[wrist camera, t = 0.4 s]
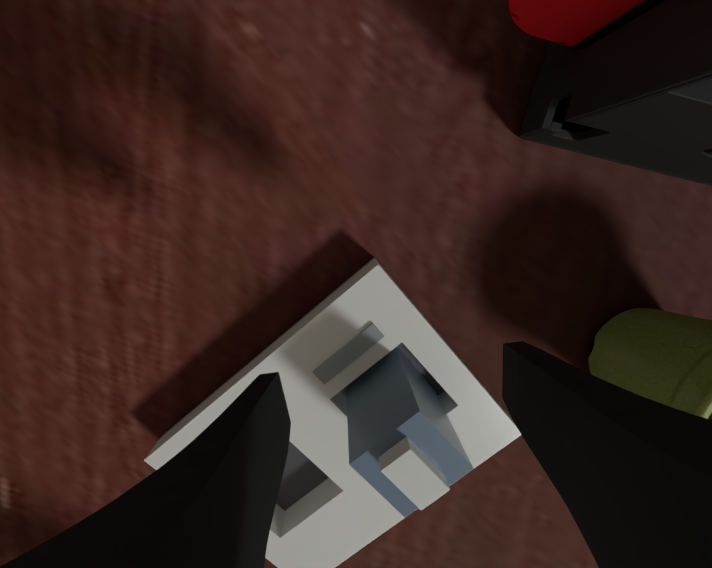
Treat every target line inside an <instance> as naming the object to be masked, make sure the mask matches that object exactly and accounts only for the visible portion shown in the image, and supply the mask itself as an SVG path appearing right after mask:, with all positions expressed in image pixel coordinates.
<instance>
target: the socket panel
mask: <svg viewBox="0 0 712 568" xmlns="http://www.w3.org/2000/svg"><path fill="white" fill-rule="evenodd" d="M395 347H398V348H399V349H400V350H401V351H402V353H403V354H404V355H405V356H406V357H407V358H408V359H409V360H410V361H411V363H412V364H413V365H414V366H415V367H416V368H417V369H418V370H419V372H420V373H421V374H422V375H423V376H424V377H425V378H426V379H427V380H428V382H429V383H430V384H431V385H432V386H433V387H434V389H435V391H436V394H437V396H438V398H439V400H440V402H441V404H442V406H443V408H444V410H445V412H446V414H447V416H448V418H449V420H450V422H451V424H452V426H453V428H454V430H455V432H456V434H457V436H458V438H459V440H460V442H461V444H462V446H463V448H464V450H465V452H466V454H467V456H468V458H469V460H470V462H471V464H472V466H473V468H475V467H477V466H478V465H480V464H481V463H483V462H484V461H485V460H487V459H488V458H490V457H491V456H492V455H494V454H495V453H497V452H498V451H499V450H501V449H502V448H504V447H505V446H506V445H508V444H509V443H511V442H512V441H513V440H515V439H516V438H518V437H519V436H520V435H521V433H520V432H519V430H518V428H517V427H516V425H515V424H514V422H513V421H512V420H511V418H510V417H509V416H508V414H507V413H506V412H505V411H504V409H503V408H502V407H501V406H500V405H499V404H498V402H497V401H496V400H495V399H494V398H493V396H492V395H491V394H490V393H489V392H488V391H487V389H486V388H485V387H484V386H483V385H482V383H481V382H480V381H479V380H478V379H477V378H476V376H475V375H474V374H473V373H472V372H471V371H470V369H469V368H468V367H467V366H466V365H465V363H464V362H463V361H462V360H461V359H460V358H459V356H458V355H457V354H456V353H455V352H454V351H453V349H452V348H451V347H450V346H449V345H448V343H447V342H446V341H445V340H444V339H443V338H442V336H441V335H440V334H439V333H438V332H437V330H436V329H435V328H434V327H433V326H432V325H431V323H430V322H429V321H428V320H427V319H426V318H425V316H424V315H423V314H422V313H421V312H420V310H419V309H418V308H417V307H416V306H415V305H414V303H413V302H412V301H411V300H410V299H409V297H408V296H407V295H406V294H405V293H404V292H403V290H402V289H401V288H400V287H399V286H398V285H397V283H396V282H395V281H394V280H393V279H392V277H391V276H390V275H389V274H388V273H387V272H386V270H385V269H384V268H383V267H382V266H381V265H380V263H379V262H378V261H377V260H376V259H375V257H373V258H372V259H371V260H369V261H368V262H367V263H366V264H365V265H363V266H362V267H361V268H360V269H359V270H357V271H356V272H355V273H354V274H353V275H352V276H350V277H349V278H348V279H347V280H346V281H344V282H343V283H342V284H341V285H340V286H338V287H337V288H336V289H335V290H334V291H332V292H331V293H330V294H329V295H328V296H327V297H325V298H324V299H323V300H322V301H321V302H319V303H318V304H317V305H316V306H315V307H313V308H312V309H311V310H310V311H309V312H308V313H306V314H305V315H304V316H303V317H302V318H300V319H299V320H298V321H297V322H296V323H294V324H293V325H292V326H291V327H290V328H289V329H287V330H286V331H285V332H284V333H283V334H281V335H280V336H279V337H278V338H277V339H275V340H274V341H273V342H272V343H271V344H270V345H268V346H267V347H266V348H265V349H264V350H262V351H261V352H260V353H259V354H258V355H256V356H255V357H254V358H253V359H252V360H251V361H249V362H248V363H247V364H246V365H245V366H243V367H242V368H241V369H240V370H239V371H237V372H236V373H235V374H234V375H233V376H232V377H230V378H229V379H228V380H227V381H226V382H224V383H223V384H222V385H221V386H220V387H218V388H217V389H216V390H215V391H214V392H212V393H211V394H210V395H209V396H208V397H207V398H205V399H204V400H203V401H202V402H201V403H199V404H198V405H197V406H196V407H195V408H193V409H192V410H191V411H190V412H189V413H188V414H186V415H185V416H184V417H183V418H182V419H180V420H179V421H178V422H177V423H176V424H174V425H173V426H172V427H171V428H170V429H169V430H167V431H166V432H165V433H164V434H163V435H162V437H161V438H160V439H159V441H158V442H157V443H156V445H155V446H154V447H153V449H152V450H151V451H150V453H149V454H148V455H147V457H146V458H145V460H144V461H145V462H147V463H148V464H149V465H150V466H152V467H153V468H154V469H155V470H158V469H159V468H160V467H161V466H163V465H164V464H165V463H166V462H168V461H169V460H170V459H171V458H173V457H174V456H175V455H176V454H178V453H179V452H180V451H181V450H183V449H184V448H185V447H186V446H187V445H188V444H190V443H191V442H192V441H193V440H194V439H195V438H196V437H197V436H198V435H199V434H200V433H202V432H203V431H204V430H205V429H206V428H207V427H208V426H209V425H210V424H211V423H212V422H213V421H214V420H215V419H216V418H218V417H219V416H220V415H221V414H222V413H223V412H224V411H225V410H226V408H227V407H228V406H229V405H230V404H231V403H232V402H233V401H234V400H235V399H236V398H237V397H238V396H239V395H240V394H241V393H242V392H243V391H244V390H245V389H246V388H247V387H248V386H249V385H250V384H251V383H252V382H253V380H254V379H255V378H257V377H258V376H259V375H260V374H266V373H273V372H279V375H280V379H281V384H282V388H283V392H284V396H285V400H286V404H287V408H288V412H289V416H290V420H291V428H290V439H289V447H288V455H287V459H286V463H285V468H284V472H283V476H282V481H281V485H280V489H279V493H278V497H277V502H276V506H275V510H274V514H273V518H272V523H271V527H270V532H269V537H268V542H267V548H266V555H265V558H266V559H268V560H269V561H270V562H271V563H273V564H274V565H275V566H276V567H278V568H335V567H336V566H338V565H339V564H341V563H342V562H343V561H345V560H346V559H348V558H349V557H350V556H352V555H353V554H355V553H356V552H357V551H359V550H360V549H362V548H363V547H364V546H366V545H367V544H369V543H370V542H371V541H373V540H374V539H376V538H377V537H378V536H380V535H381V534H383V533H384V532H386V531H387V530H388V529H390V528H391V527H393V526H394V525H395V524H397V523H398V522H400V521H401V520H402V519H404V518H405V517H404V516H403V515H402V514H401V513H400V512H398V511H397V510H396V509H395V508H394V507H393V506H392V505H391V504H390V503H389V502H388V501H387V500H386V499H385V498H384V497H383V496H382V495H381V494H380V493H379V492H377V491H376V490H375V489H374V488H373V487H372V486H371V485H370V484H369V483H368V482H367V481H366V480H365V479H364V478H363V477H362V476H361V475H360V474H359V473H358V472H356V471H355V470H354V469H353V468H352V467H351V466H350V465H349V449H348V422H347V396H346V386H347V385H349V384H350V383H351V382H352V381H354V380H355V379H356V378H357V377H359V376H360V375H361V374H362V373H364V372H365V371H366V370H368V369H369V368H370V367H371V366H373V365H374V364H375V363H376V362H378V361H379V360H380V359H381V358H383V357H384V356H385V355H386V354H388V353H389V352H390V351H392V350H393V349H394V348H395ZM472 470H473V469H472ZM465 475H466V474H465ZM458 480H459V479H458ZM451 485H452V484H451ZM413 512H414V511H413ZM406 517H407V516H406Z"/></svg>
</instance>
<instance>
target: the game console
mask: <svg viewBox="0 0 712 568" xmlns="http://www.w3.org/2000/svg"><path fill="white" fill-rule="evenodd" d="M509 11H510V15H511V17H512V19H513V21H514V22H515V24H516V25H517V26H518V27H519V28H520V29H522V30H523V31H524V32H526V33H528V34H530V35H532V36H535V37H538V38H541V39H545V40H548V41H550V42H549V45H548V48H547V52H546V55H545V58H544V61H543V65H542V68H541V71H540V75H539V77H538V78H537V79H536V81H535V84H534V87H533V91H532V94H531V97H530V101H529V104H528V107H527V111H526V114H525V117H524V121H523V124H522V127H521V131H520V134H519V136H520V138H522V139H525V140H529V141H533V142H537V143H541V144H545V145H549V146H553V147H557V148H561V149H565V150H569V151H574V152H578V153H582V154H586V155H590V156H594V157H598V158H602V159H606V160H610V161H614V162H618V163H622V164H626V165H630V166H634V167H638V168H642V169H646V170H650V171H654V172H658V173H662V174H666V175H670V176H674V177H678V178H682V179H687V180H691V181H695V182H699V183H703V184H707V185H711V186H712V0H509Z"/></svg>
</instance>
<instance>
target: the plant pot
mask: <svg viewBox="0 0 712 568" xmlns="http://www.w3.org/2000/svg"><path fill="white" fill-rule="evenodd" d="M588 364H589V369H590V372H591V374H592V375H594V376H596V377H598V378H600V379H602V380H605V381H607V382H609V383H612V384H614V385H616V386H618V387H621V388H623V389H625V390H628V391H630V392H633V393H635V394H638V395H640V396H643V397H645V398H648V399H651V400H653V401H656V402H659V403H662V404H664V405H667V406H670V407H673V408H675V409H678V410H681V411H684V412H687V413H690V414H693V415H696V416H700V417H703V418H706V419H709V420H712V320H707V319H701V318H696V317H691V316H687V315H682V314H677V313H672V312H668V311H663V310H658V309H650V308H635V309H630V310H627V311H624V312H622V313H620V314H618V315H616V316H614V317H613V318H612V319H610V320H609V321H608V322H607V323H605V324H604V325H603V326H602V327H601V329H600V330H599V331H598V332H597V334H596V336H595V342H594V347H593V350H592V352H591V354H590V355H589V357H588Z"/></svg>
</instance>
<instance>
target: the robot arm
mask: <svg viewBox="0 0 712 568" xmlns="http://www.w3.org/2000/svg"><path fill="white" fill-rule="evenodd" d="M502 397H503V400H504V402H505V404H506V406H507V408H508V411H509V413H510V415H511V417H512V419H513V421H514V423H515V425H516V427H517V428H518V430H519V432H520V433H521V435H522V436H523V438H524V439H525V441H526V443H527V444H528V446H529V447H530V449H531V450H532V452H533V453H534V455H535V457H536V458H537V460H538V461H539V463H540V464H541V466H542V467H543V469H544V470H545V472H546V473H547V475H548V477H549V478H550V480H551V481H552V483H553V484H554V486H555V487H556V489H557V490H558V492H559V494H560V495H561V497H562V499H563V500H564V502H565V504H566V505H567V507H568V509H569V510H570V512H571V514H572V516H573V518H574V520H575V522H576V524H577V526H578V527H579V529H580V531H581V533H582V535H583V537H584V539H585V541H586V543H587V545H588V546H589V548H590V550H591V552H592V554H593V556H594V558H595V560H596V562H597V564H598V566H599V568H712V420H709V419H706V418H703V417H700V416H696V415H693V414H690V413H687V412H684V411H681V410H678V409H675V408H673V407H670V406H667V405H664V404H662V403H659V402H656V401H653V400H651V399H648V398H645V397H643V396H640V395H638V394H635V393H633V392H630V391H628V390H625V389H623V388H621V387H618V386H616V385H614V384H612V383H609V382H607V381H605V380H602V379H600V378H598V377H596V376H594V375H592V374H589V373H587V372H585V371H583V370H581V369H579V368H577V367H575V366H573V365H571V364H569V363H567V362H565V361H563V360H561V359H559V358H557V357H555V356H553V355H551V354H549V353H547V352H545V351H543V350H541V349H539V348H537V347H535V346H533V345H530V344H528V343H526V342H523V341H521V342H513V343H505V344H503V384H502ZM290 428H291V420H290V416H289V412H288V408H287V404H286V400H285V396H284V392H283V388H282V384H281V379H280V375H279V372H273V373H266V374H260V375H259V376H258V377H257V378H255V379H254V380H253V382H252V383H251V384H250V385H249V386H248V387H247V388H246V389H245V390H244V391H243V392H242V393H241V394H240V395H239V396H238V397H237V398H236V399H235V400H234V401H233V402H232V403H231V404H230V405H229V406H228V407H227V408H226V410H225V411H224V412H223V413H222V414H221V415H220V416H219V417H218V418H216V419H215V420H214V421H213V422H212V423H211V424H210V425H209V426H208V427H207V428H206V429H205V430H204V431H203V432H202V433H200V434H199V435H198V436H197V437H196V438H195V439H194V440H193V441H192V442H191V443H190V444H188V445H187V446H186V447H185V448H184V449H183V450H181V451H180V452H179V453H178V454H176V455H175V456H174V457H173V458H171V459H170V460H169V461H168V462H166V463H165V464H164V465H163V466H161V467H160V468H159V469H158V470H156V471H155V472H154V473H152V474H151V475H149V476H148V477H147V478H145V479H144V480H142V481H141V482H139V483H138V484H137V485H135V486H134V487H132V488H131V489H130V490H128V491H127V492H125V493H124V494H123V495H121V496H120V497H118V498H117V499H115V500H114V501H112V502H111V503H109V504H108V505H106V506H104V507H103V508H101V509H100V510H98V511H97V512H95V513H94V514H92V515H90V516H89V517H87V518H85V519H84V520H82V521H80V522H79V523H77V524H75V525H74V526H72V527H71V528H69V529H67V530H65V531H64V532H62V533H60V534H59V535H57V536H55V537H53V538H52V539H50V540H48V541H46V542H44V543H42V544H41V545H39V546H37V547H35V548H33V549H31V550H30V551H28V552H26V553H24V554H22V555H21V556H19V557H17V558H15V559H13V560H11V561H10V562H8V563H6V564H4V565H2V566H0V568H264V562H265V555H266V548H267V542H268V537H269V532H270V527H271V523H272V518H273V514H274V510H275V506H276V502H277V497H278V493H279V489H280V485H281V481H282V476H283V472H284V468H285V463H286V459H287V455H288V447H289V439H290Z"/></svg>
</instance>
